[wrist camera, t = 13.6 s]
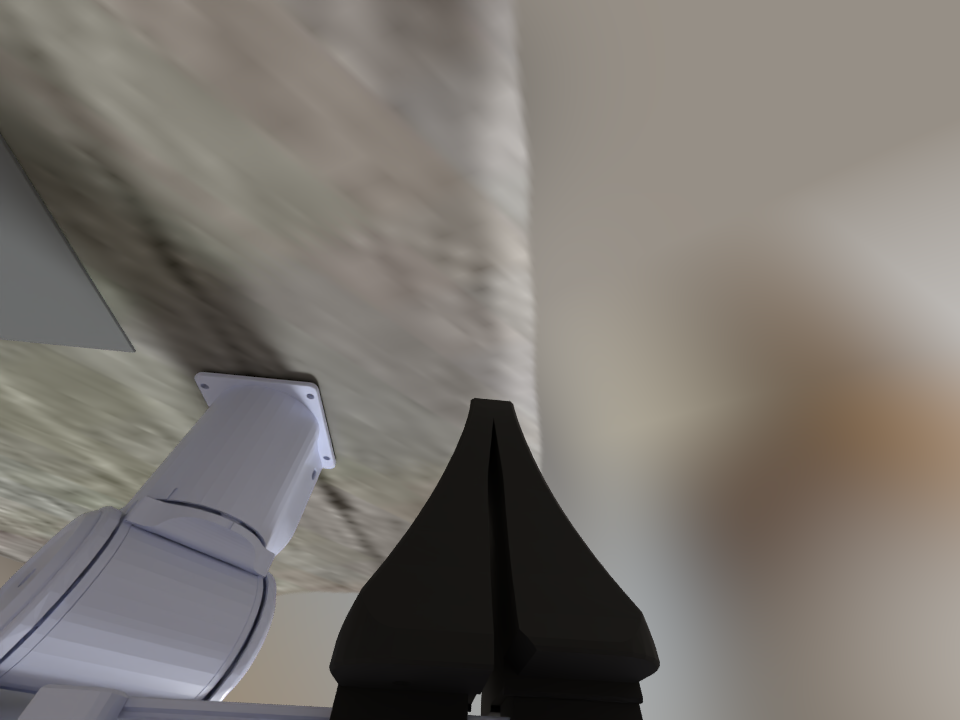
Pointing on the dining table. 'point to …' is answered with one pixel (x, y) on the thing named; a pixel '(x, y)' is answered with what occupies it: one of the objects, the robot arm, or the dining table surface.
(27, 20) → the dining table surface
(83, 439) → the dining table surface
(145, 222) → the dining table surface
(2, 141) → the display mat
